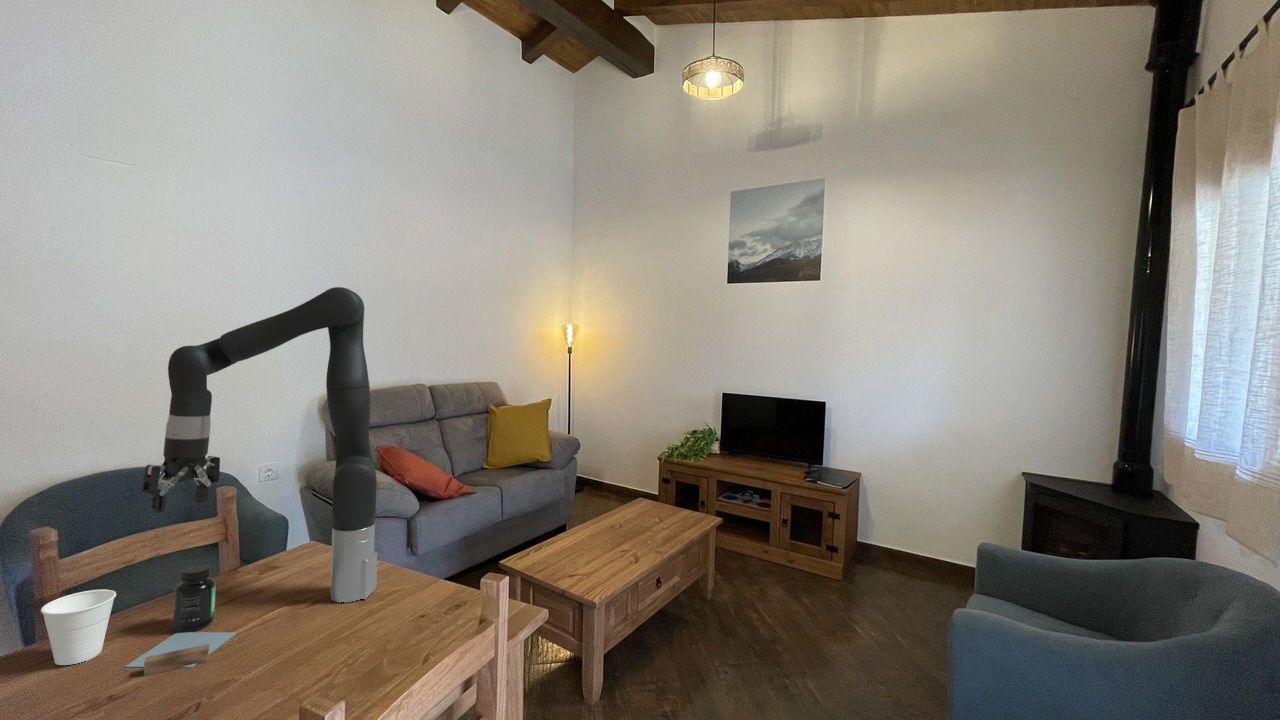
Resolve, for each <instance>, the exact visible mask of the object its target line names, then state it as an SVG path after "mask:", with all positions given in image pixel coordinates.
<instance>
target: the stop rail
mask: <svg viewBox="0 0 1280 720" xmlns="http://www.w3.org/2000/svg"><path fill="white" fill-rule="evenodd" d="M209 657H210V654H209V644H206V645H201V646H196V647H192V648H187V649H182V650H178V651H173V652H168V653H164V654H159V655H154V656H149V657H147V658H146V660H145V662H144V667H143V677H146V676H151V675H155V674H158V673H163V672H168V671H173V670H178V669H182V667H183V666H187V665H192V664H196V665H198V664H203V663H207V662H208V661H209Z"/></svg>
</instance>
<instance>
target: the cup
mask: <svg viewBox="0 0 1280 720" xmlns="http://www.w3.org/2000/svg"><path fill="white" fill-rule="evenodd" d="M116 596H117V592H116V591H115V590H111V589H107V588H104V589H92V590H84V591H80V592H75V593H72V594H68V595H64V596H62V597H59V598H56V599H54V600H52V601H49V602H47V603H46V604H45V605H43V606H42V607H41V609H40V613H41V614H42V615H43V618H44V623H45V628H46V631H47V635H48V639H49V642H50V643H49V644H50V647H51V652H52V656H53V661H54V664H55V665H57V666H59V665H71V664H76V665H78V664H77V663H80V664H82V663H81V662H83V663H85V662H84V661H86V662H88V661H90V660H93V659H94V658H96V657H97V656H98V655H99V654H100V653H101V652H102V651H103V648H104V647H103V646H104V642H105V637H106V633H107V629H108V625H109V620H110V618H111V617H110V616H111V614H112V613H111V612H112V609H113V604H114V601H115V598H116ZM71 666H72V665H71Z"/></svg>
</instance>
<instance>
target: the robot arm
mask: <svg viewBox="0 0 1280 720" xmlns="http://www.w3.org/2000/svg"><path fill="white" fill-rule="evenodd" d="M364 319H365V304H364V301H363V299H362V297H361V296H360V295H359V294H358V293H357V292H356V291H353V290H352V289H349V288H347V287H342V286H337V287H331V288H328V289H326V290H324V291H323V292H321V293H320V294H318V295H316V296H314V297H313V298H311V299H309V300H307V301H305V302H304V303H302V304H300V305H298V306H295V307H293V308H290V309H289V310H286V311H284V312H281V313H278V314H275V315H273V316H270V317H267V318H264V319H261V320H258V321H255V322H252V323H249V324H246V325H243V326H241V327H237V328H235V329H233V330H231V331H230V330H229V331H227V332H226V333H223V334H222V335H220V337H219V338H215V339H213V340H210V341H208V342H204V343H201V344H198V345H183V346H180V347H178V348H176V349H175V350H174V351H173V352H172V353H171V354H170V357H169V361H168V364H167V365H168V366H167V372H168V373H167V375H168V382H169V389H170V392H171V397H170V404H169V413H168V419H167V421H166V425H165V435H164V445H163V457H164V458H163V459H164V461H163V463H162V464H158V465H157V464H147V465H146V466H145V471H144V477H143V482H142V488H141V492H142V493H143V494H148V495H151V496H152V498H151V507H150V508H151V510H152V511H153V513H158V514H160V513H161V514H162V513H165V509H166V500H167V495H166V494H167V493H168V491H169V490H170V489H171V488H173V487H174V486H175V485H177V483H180V482H184V481H187V480H188V481H192V480H194V481H195V482H196V484H197V486H196V490H195V497H194V502H195V503H196V504H204V503H206V501H207V499H208V496H209V487H210V486H211V485H212V484H214V483H219V481H220V471H221V470H220V468H221V457H218V456H214V455H208V453H209V446H210V445H209V444H210V437H211V436H210V435H211V411H212V403H213V397H212V396H213V395H212V394H213V393H212V392H211V390H209V389H208V376H209V375H213V374H215V373H217V372H220V371H221V370H224V369H227V368H228V367H231V366H233V365H235V364H237V363H238V362H242V361H244V360H248V359H251V358H253V357H256V356H258V355H261V354H264V353H267V352H269V351H271V350H274V349H275V348H278V347H280V346H282V345H284V344H285V343H288V342H289V341H292V340H294V339H295V338H298V337H301V336H303V335H305V334H308V333H310V332H311V333H312V332H315V331H318V330H323V329H326V328H327V329H328V330H327V331H328V336H329V338H328V339H329V354H328V355H329V356H328V357H329V358H328V363H327V368H326V369H327V370H326V380H325V381H326V382H325V383H326V384H325V385H326V388H325V389H326V397H327V399H326V400H327V406H328V407H327V409H328V414H329V418H330V423H331V426H332V429H333V430H332V431H333V433H334V437H335V445H336V446H335V448H336V451H335V470H334V475H333V481H332V510H331V511H332V512H331V517H332V518H331V519H332V527H331V531H332V532H331V558H330V559H331V562H330V568H331V569H330V600H331V601H333V602H335V603H341V602H344V603H343V604H345V603H352V601H353V602H357V601H356V600H358V601H361V600H360V599H365V600H367V599H368V598H367V597H368V596H369V595H370V594H371V593H372V592H373V590H374V589H375V588H376V589H377V580H378V579H377V577H378V576H377V575H378V574H377V573H378V551H375V530H376V529H375V528H376V527H375V526H376V511H377V481H378V480H377V479H378V478H377V472H376V468H375V465H374V461H373V456H372V455H373V454H372V451H371V444H370V437H369V436H370V435H369V434H370V423H371V392H370V391H371V390H370V389H371V388H370V378H369V372H368V366H367V364H368V363H367V359H366V354H365V347H364V322H365V320H364ZM207 455H208V456H207ZM206 456H207V457H206ZM205 467H206V470H205V471H204V470H203V469H204V468H205ZM376 589H375V590H376ZM375 590H374V591H375ZM373 593H374V592H373ZM371 595H372V594H371ZM371 595H370V596H371ZM370 596H369V597H370ZM366 598H367V599H366Z"/></svg>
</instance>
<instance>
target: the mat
mask: <svg viewBox="0 0 1280 720" xmlns="http://www.w3.org/2000/svg"><path fill="white" fill-rule="evenodd" d="M237 634H238V632H231V631H230V632H228V631H227V632H225V631H224V632H223V631H222V632H218V631H217V632H214V631H213V632H211V631H210V632H206V631H205V632H203V631H202V632H200V631H190V632H177V631H176V632H175V633H174V634H172V635H171V636H169V637H168V638H166V639H165V640H163V641H162V642H160V643H159V644H157V645H155V646H154V647H152V648H151V649H150V650H148V651H146V652H145V653H143V654H142V655H140V656H138V657H137V658H136V659H134V660H132V661H131V662H130V663H128V664H127V665H125V666H124V668H144V662H145V660H146V658H147V657H149V656H154V655H159V654H164V653H168V652H173V651H178V650H182V649H187V648H192V647H196V646H201V645H206V644H209V655H210V654H212V653H213V652H214V651H216V650H217V649H219V648H220V647H221V646H223V645H224V644H225V643H226V642H227V641H229V640H231V639H232V638H233V637H234V636H235V635H237ZM196 665H197V664H192V665H187V666H183V667H182V668H184V669H186V668H187V669H188V668H190V669H192V668H193V667H194V666H196ZM182 668H181V669H182Z"/></svg>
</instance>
